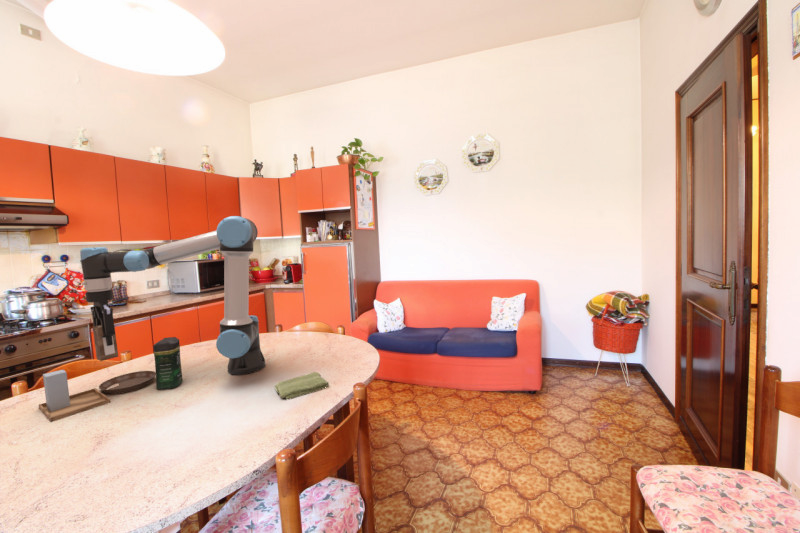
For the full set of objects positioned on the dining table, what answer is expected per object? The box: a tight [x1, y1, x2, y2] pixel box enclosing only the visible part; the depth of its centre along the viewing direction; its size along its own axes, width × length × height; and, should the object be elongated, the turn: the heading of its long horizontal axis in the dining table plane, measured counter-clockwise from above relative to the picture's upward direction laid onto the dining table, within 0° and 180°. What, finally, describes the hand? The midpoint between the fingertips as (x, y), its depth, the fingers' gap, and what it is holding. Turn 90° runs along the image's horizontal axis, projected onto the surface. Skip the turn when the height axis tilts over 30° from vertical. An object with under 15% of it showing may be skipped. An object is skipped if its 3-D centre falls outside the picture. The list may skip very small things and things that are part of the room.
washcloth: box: [274, 371, 329, 400], centre depth 128 cm, size 13×18×3 cm
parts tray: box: [38, 388, 112, 423], centre depth 120 cm, size 17×15×2 cm
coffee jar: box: [152, 336, 183, 391], centre depth 134 cm, size 10×8×19 cm
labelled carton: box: [92, 325, 119, 362], centre depth 126 cm, size 4×5×12 cm
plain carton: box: [42, 369, 70, 412], centre depth 118 cm, size 4×5×12 cm
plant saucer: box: [98, 370, 156, 395], centre depth 135 cm, size 18×18×3 cm
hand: (107, 352), depth 127 cm, fingers closed on labelled carton, 4 cm apart
